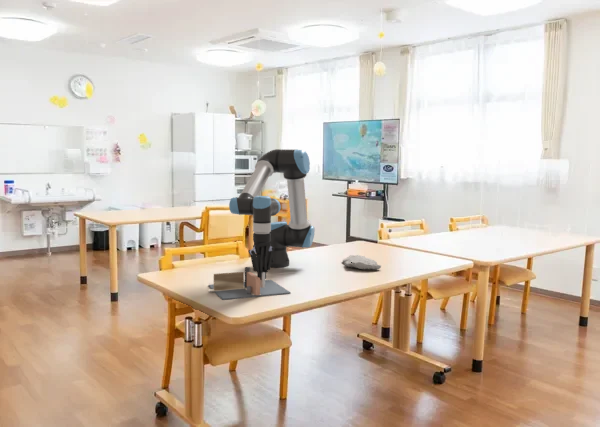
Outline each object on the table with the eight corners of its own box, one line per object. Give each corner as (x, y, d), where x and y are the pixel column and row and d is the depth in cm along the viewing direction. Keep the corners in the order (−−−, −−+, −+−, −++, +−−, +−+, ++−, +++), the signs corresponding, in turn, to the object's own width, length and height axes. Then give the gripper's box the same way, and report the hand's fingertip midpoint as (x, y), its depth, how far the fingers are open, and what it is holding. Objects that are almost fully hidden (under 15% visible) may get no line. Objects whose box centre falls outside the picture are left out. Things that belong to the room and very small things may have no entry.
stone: (383, 270, 273) (361, 259, 302) (383, 260, 273) (361, 250, 301) (352, 273, 269) (332, 262, 297) (351, 263, 268) (332, 253, 297)
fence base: (213, 289, 227) (213, 269, 226) (249, 286, 233) (249, 266, 232) (214, 290, 225) (214, 270, 224) (250, 287, 231) (250, 267, 230)
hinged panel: (250, 287, 230) (250, 271, 230) (259, 294, 218) (260, 278, 218) (246, 287, 230) (246, 272, 229) (255, 295, 218) (256, 278, 217)
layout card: (204, 286, 234) (204, 278, 234) (271, 280, 247) (271, 273, 247) (217, 300, 212) (217, 291, 212) (290, 293, 225) (290, 285, 225)
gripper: (267, 230, 229) (267, 282, 231) (244, 232, 220) (244, 287, 222) (279, 232, 223) (278, 286, 226) (255, 235, 214) (255, 291, 217)
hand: (261, 286), depth 224 cm, fingers closed
